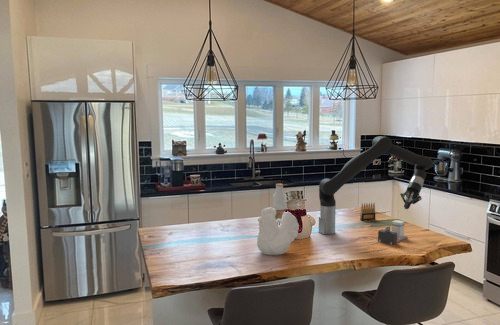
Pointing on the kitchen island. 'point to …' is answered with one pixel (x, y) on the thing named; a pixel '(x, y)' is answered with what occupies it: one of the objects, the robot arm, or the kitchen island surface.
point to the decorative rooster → (276, 232)
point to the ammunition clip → (367, 212)
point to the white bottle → (279, 201)
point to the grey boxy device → (389, 236)
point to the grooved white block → (398, 228)
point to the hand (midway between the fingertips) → (405, 208)
